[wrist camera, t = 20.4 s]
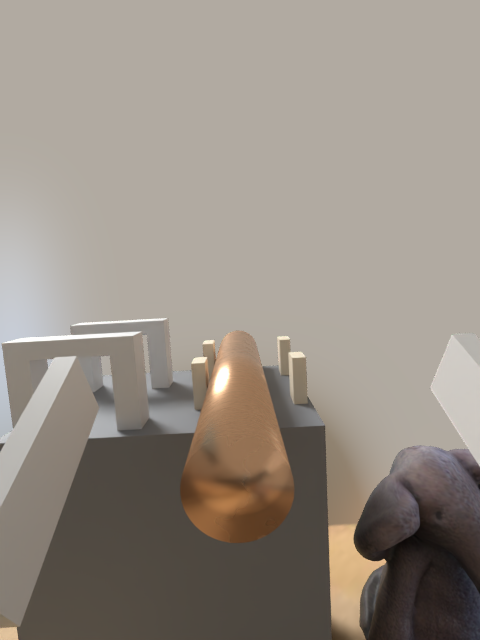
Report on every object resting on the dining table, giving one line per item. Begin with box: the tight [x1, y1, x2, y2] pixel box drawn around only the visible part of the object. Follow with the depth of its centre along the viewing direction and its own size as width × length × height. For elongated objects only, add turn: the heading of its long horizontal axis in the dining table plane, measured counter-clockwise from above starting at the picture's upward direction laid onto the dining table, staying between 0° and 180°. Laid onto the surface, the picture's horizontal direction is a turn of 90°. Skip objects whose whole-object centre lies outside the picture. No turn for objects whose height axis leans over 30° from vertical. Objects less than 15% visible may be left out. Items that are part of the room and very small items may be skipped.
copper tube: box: [180, 331, 294, 543], centre depth 25 cm, size 26×4×4 cm, turn 0°
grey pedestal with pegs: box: [0, 318, 332, 640], centre depth 31 cm, size 21×16×34 cm
